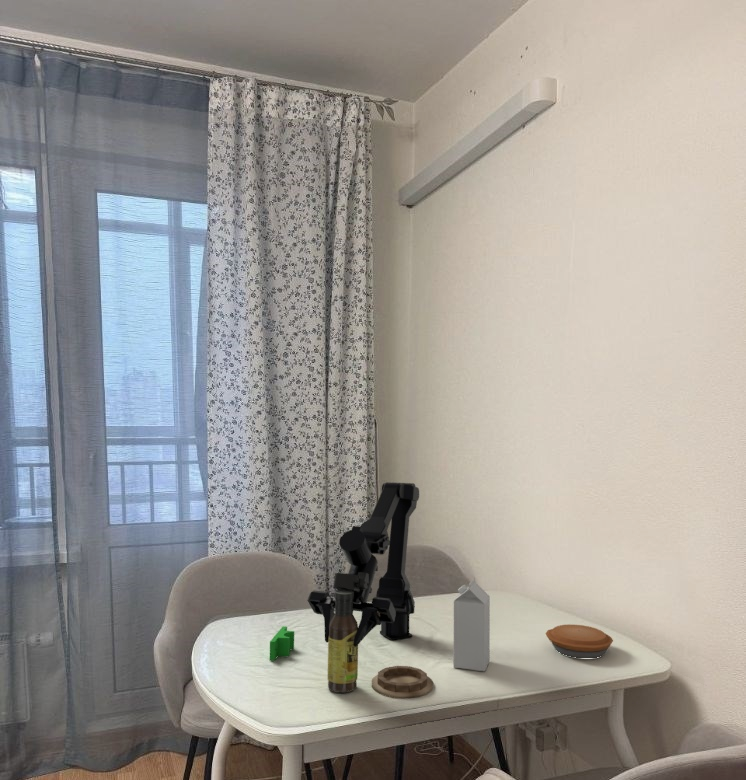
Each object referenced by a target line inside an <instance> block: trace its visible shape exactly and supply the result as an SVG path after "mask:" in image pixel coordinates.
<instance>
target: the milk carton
mask: <svg viewBox="0 0 746 780" xmlns="http://www.w3.org/2000/svg"><path fill="white" fill-rule="evenodd" d="M457 592H458V593H459V594H458V595H457V596H456V598H455V599H454V600H453V663H452V664H453V668H456V669H463V670H471V671H478V672H479V671H480V672H485V671H486V670H487V667H488V666H489V663H490V661H491V660H490V658H491V657H490V651H491V650H490V647H491V643H490V640H491V639H490V633H491V632H490V630H491V629H490V628H491V627H490V626H491V625H490V624H491V623H490V621H491V620H490V618H491V617H490V616H491V614H490V612H491V610H490V609H491V608H490V607H491V606H490V605H491V601H490V599H491V598H490V597H491V596H490V595H489V593H487V592H486V591H485V590H484V589H483V588H482V587H481V586H480V585H479V584H478V583H477V582H476V577H473V578H472V579H471V581H470V582H469V583H468V586H467V585H466V584H462V585H461V586H460V587H459V588H458V589H457Z"/></svg>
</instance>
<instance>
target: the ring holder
mask: <svg viewBox="0 0 746 780" xmlns="http://www.w3.org/2000/svg"><path fill="white" fill-rule="evenodd" d="M371 687H372V689H373V690H374V691H375V692H376V693H378V694H380V695H382V696H385V695H386V696H385V697H389V696H390V697H389V698H394V697H395V699H412V698H413V699H414V698H419V697H422V696H425V695H428V694H430V692H432V690H433V688H434V681H433V679H432V678H431V677H429V676H428V673H426V672H425V671H424V670H422V669H421V668H419V667H413V666H410V665H393V666H388V667H385V668H382V669H380V670H378V672H377V674H376V675H374V677H373V678H372V679H371Z"/></svg>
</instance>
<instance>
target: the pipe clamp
mask: <svg viewBox="0 0 746 780" xmlns="http://www.w3.org/2000/svg"><path fill="white" fill-rule="evenodd" d="M290 649H294V650H295V631H294V630H288V626H281V628H280V629H279V630H278V631H277V632H276V634H275V635H274V636H273V637H272V638H271V640H270V641H269V661H270V660H275V661H276V659H277V658H278V657H283V656H289V657H290V651H291V650H290ZM277 656H278V657H277ZM276 657H277V658H276Z"/></svg>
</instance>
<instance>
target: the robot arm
mask: <svg viewBox="0 0 746 780" xmlns="http://www.w3.org/2000/svg"><path fill="white" fill-rule="evenodd" d="M419 499H420V489H419V487H417V486H416V484H415V483H413V482H412V483H411V482H391V481H390V482H387V481H386V482H384V483H382V485H381V493H380V495H379V498H378V500H377V501H376V504H375V506H374V509H373V511H372V513H371V515H370V518H369V519H367V520H366V521H364V522H362V523H361V524H360V526H357V525H354V526H353V525H352V528H351V530H347V531H346V532H344V533H343V534H342V536H340V537H339V543H338V544H339V548H341V551H342V554H343V556H344V557H345V559H346V561H347V563H348V564H350V567H349V569H348V573H347V572H346V573H344V572H341V573H340V572H335V573H334V574H335V575H334V580H333V584H332V585H333V587H332V589H334V590H339V589H345V590H352V591H353V592H354V599H353V612H361V619H360V621H359V624H358V630H357V633H356V635H355V639H354V646H355V647H356V646H357V645H358V646H359V644H360V643H361V642H362V641H363V640H364V638H366V636H367V635H368V634H369V633H370V632H371V631H372V630H373V629H374V628H375V627H376V626H380V630H379V634H380V635H382V636H383V637H385V638H387V639H388V640H390V641H394V640H401V639H408V638H411V637H413V634H412V633H411V632H410V615H412V614H415V600H414V597H413V595H412V591H411V584H410V581H409V579H408V578H407V575H406V561H407V551H408V550H407V549H408V540H409V539H408V536H409V526H410V525H409V524H410V517H411V516H412V514H413V513H414V511H415V510H416V508H417V502H418V501H419ZM389 526H390V531H389V532H390V533H388V528H389ZM389 534H390V535H389ZM386 551H388V555H387V556H388V557H387V564H386V565H387V566H386V572H385V573H384V575H383V576H381V577H380V578H379V581H378V588H377V590H376V595H375V596H374V597H373V598H372V600H371V602H368V599H369V595H370V594H372V591H373V588H372V585H373V580H374V577H375V574H376V572H378V570H379V566H378V563H379V562H378V559H377V557H376V556H375V555H380V556H381V555H384V554H385V552H386ZM307 603H309V606H310V607H311V610H312V611H313V613H315V614H316V615H322V617H323V619H324V620H323V621H324V641H325V643H328V637H329V625H330V621H331V620H332V618H333V616H334V615H335V598H332V597H331V595H330V593H329V591H325V590H317V589H316V590H315V589H314V590H312V591H311V592H310V593H309V594H308V597H307Z"/></svg>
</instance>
